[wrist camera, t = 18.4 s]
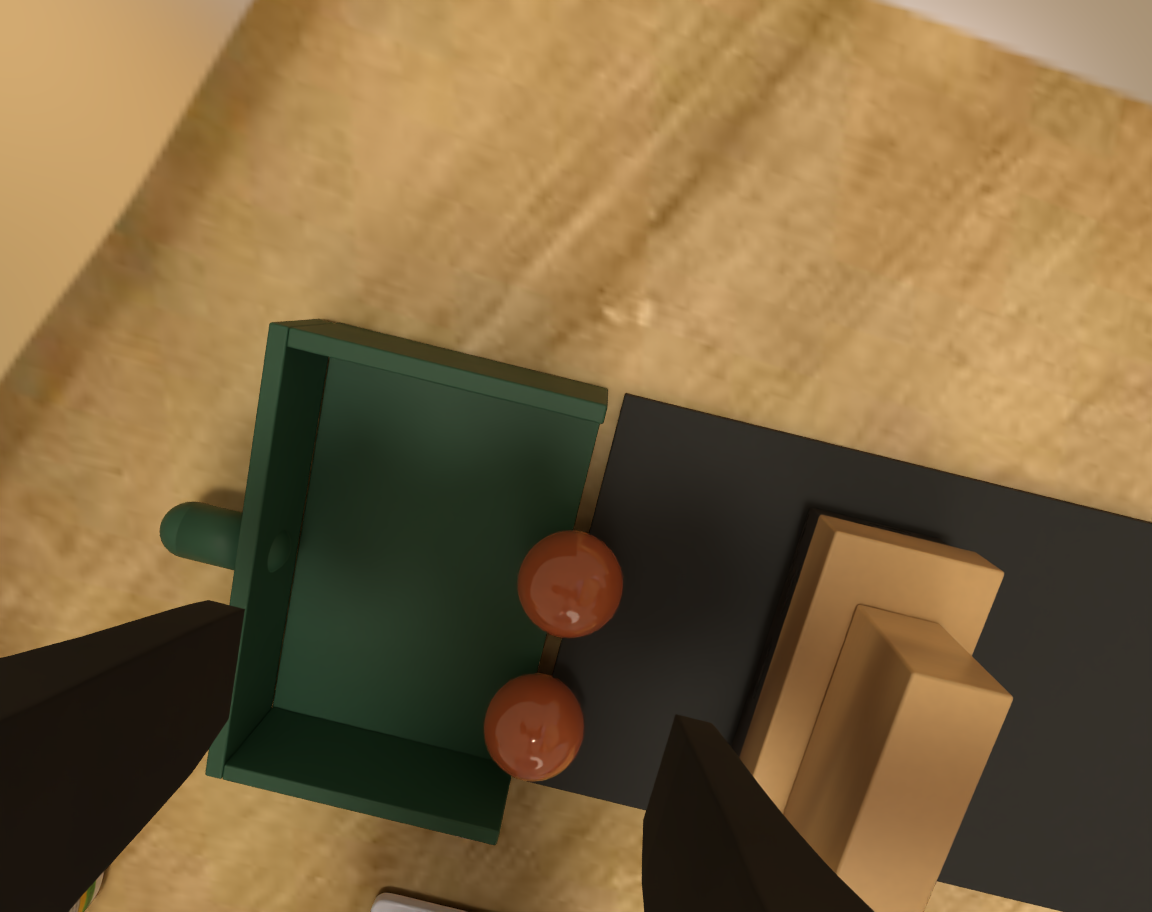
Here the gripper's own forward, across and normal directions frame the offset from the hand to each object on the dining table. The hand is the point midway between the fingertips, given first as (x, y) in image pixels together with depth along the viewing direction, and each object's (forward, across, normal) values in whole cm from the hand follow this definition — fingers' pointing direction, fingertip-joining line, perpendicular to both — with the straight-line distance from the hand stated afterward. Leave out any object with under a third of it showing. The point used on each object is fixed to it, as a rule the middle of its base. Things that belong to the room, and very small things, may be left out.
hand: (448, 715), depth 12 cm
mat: (+10, -15, +2) cm, 19 cm away
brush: (+10, -10, +2) cm, 14 cm away
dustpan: (+10, +4, +2) cm, 11 cm away
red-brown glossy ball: (+9, -2, +6) cm, 10 cm away
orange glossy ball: (+9, -2, +1) cm, 9 cm away
